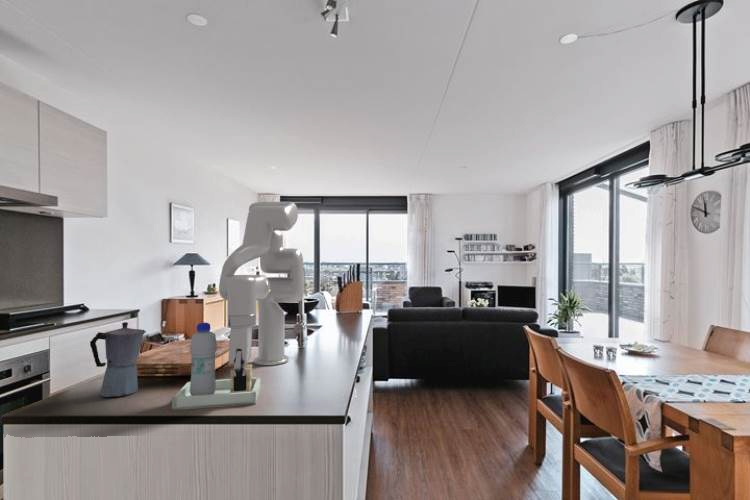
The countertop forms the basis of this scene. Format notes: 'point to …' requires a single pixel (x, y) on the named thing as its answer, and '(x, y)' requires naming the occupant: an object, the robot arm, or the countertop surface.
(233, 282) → the robot arm
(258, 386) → the tray
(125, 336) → the moka pot
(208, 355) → the bottle
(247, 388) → the block
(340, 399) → the countertop surface
